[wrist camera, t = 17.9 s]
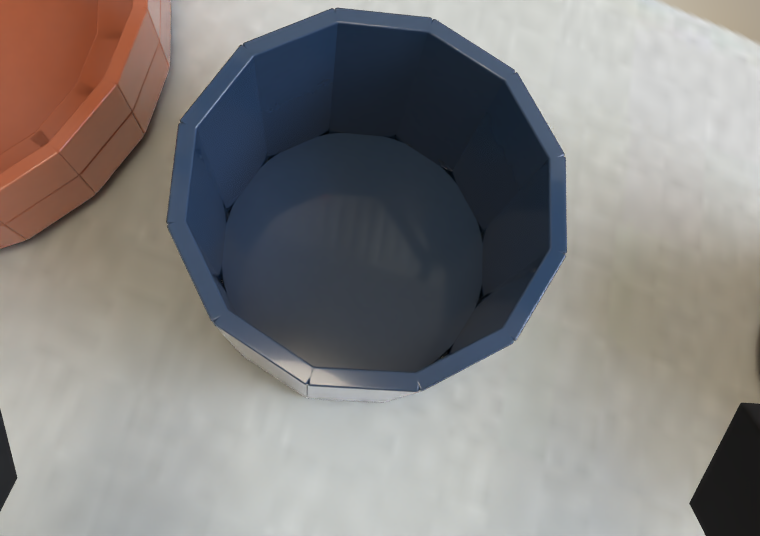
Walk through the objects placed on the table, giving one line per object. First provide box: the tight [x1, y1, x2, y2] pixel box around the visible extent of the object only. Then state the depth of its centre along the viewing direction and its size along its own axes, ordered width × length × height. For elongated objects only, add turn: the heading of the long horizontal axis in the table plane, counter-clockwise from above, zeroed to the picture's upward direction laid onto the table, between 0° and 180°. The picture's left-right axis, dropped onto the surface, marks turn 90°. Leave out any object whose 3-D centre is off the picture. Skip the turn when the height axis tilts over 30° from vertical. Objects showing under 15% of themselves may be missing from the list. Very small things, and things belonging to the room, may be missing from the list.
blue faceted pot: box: [166, 8, 567, 403], centre depth 22 cm, size 11×11×8 cm
